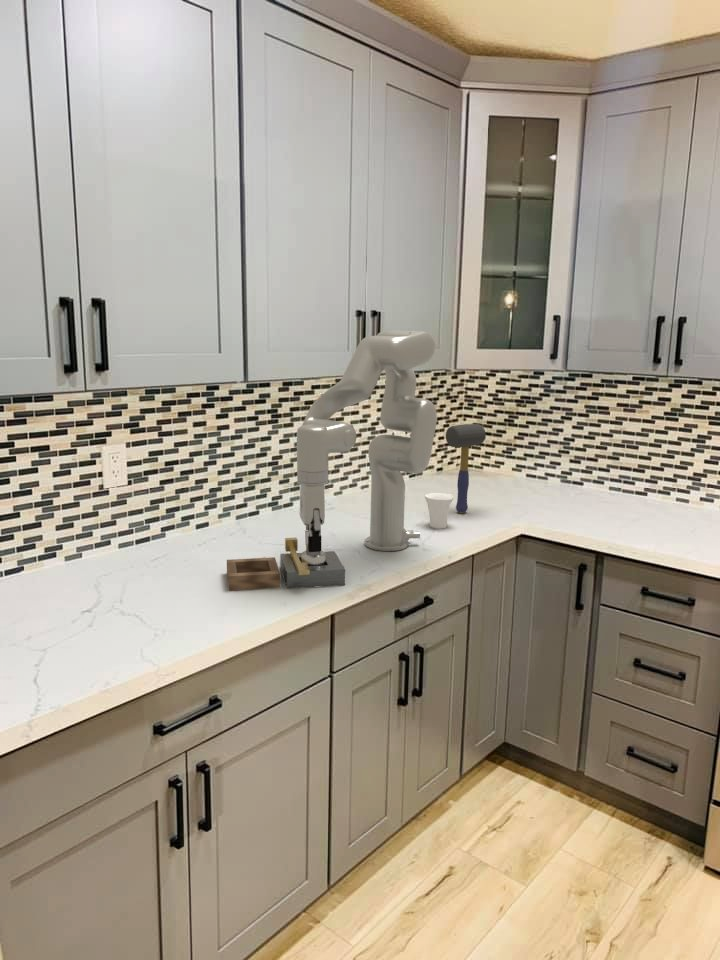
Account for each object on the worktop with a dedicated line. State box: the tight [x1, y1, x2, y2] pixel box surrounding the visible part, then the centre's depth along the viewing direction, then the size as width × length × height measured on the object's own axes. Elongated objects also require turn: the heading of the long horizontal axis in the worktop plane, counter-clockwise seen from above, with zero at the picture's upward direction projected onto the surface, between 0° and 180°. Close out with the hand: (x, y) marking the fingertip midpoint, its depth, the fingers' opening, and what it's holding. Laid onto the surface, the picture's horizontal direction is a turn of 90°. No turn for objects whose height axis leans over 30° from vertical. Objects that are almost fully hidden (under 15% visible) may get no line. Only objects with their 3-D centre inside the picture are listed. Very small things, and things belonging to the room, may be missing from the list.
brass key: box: [284, 537, 310, 575], centre depth 175 cm, size 3×20×3 cm, turn 13°
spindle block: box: [279, 550, 346, 590], centre depth 177 cm, size 14×14×4 cm
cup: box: [424, 492, 454, 530], centre depth 222 cm, size 9×9×10 cm
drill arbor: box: [300, 530, 326, 566], centre depth 176 cm, size 6×6×10 cm
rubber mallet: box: [445, 423, 487, 514], centre depth 236 cm, size 12×8×30 cm, turn 123°
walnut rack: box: [226, 556, 281, 592], centre depth 174 cm, size 12×12×4 cm
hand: (313, 547), depth 176 cm, fingers closed on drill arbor, 3 cm apart
